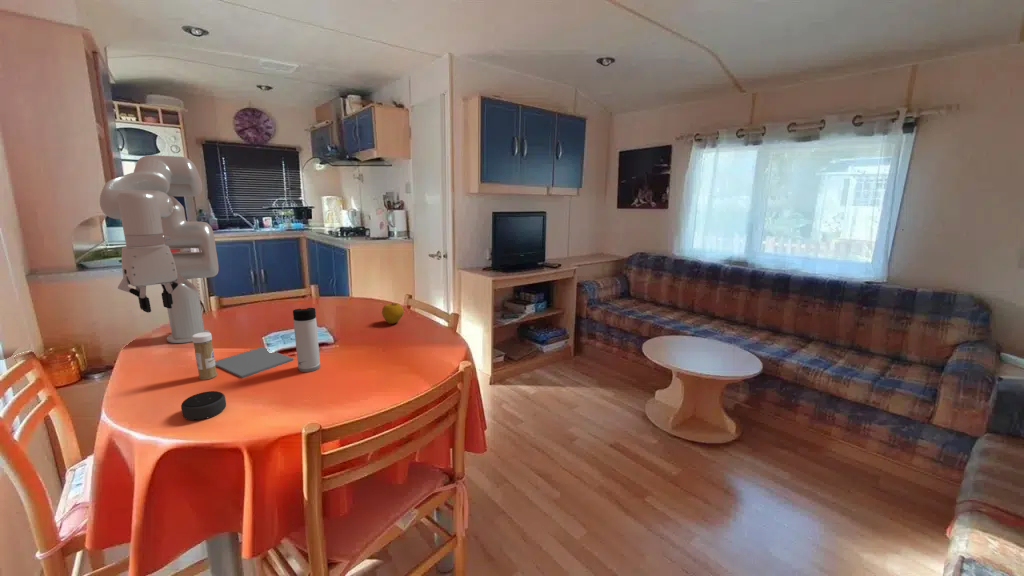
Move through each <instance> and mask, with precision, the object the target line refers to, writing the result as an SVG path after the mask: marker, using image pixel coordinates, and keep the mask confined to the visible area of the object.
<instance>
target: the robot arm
mask: <svg viewBox="0 0 1024 576" xmlns="http://www.w3.org/2000/svg"><path fill="white" fill-rule="evenodd" d="M100 192H101V193H100V195H99V206H100V209H101V211H102V213H103V214H104V215H105V216H107V217H109V218H111V219H114V220H121V224H122V230H123V235H124V241H125V246H124V247H123V246H122V248H121V270H122V279H121V281H120V282H119V284H118V286H117V289H118V290H120V291H124V292H127V293H130V294H132V295H133V296H135V297H137V299H138V304H139V308H140V310H143V312H146V313H148V314H149V313H151V312H152V308H151V301H150V298H149V297H148V295H147V294H146V293H147V286H154V285H160V286H161V288H162V292H161V293H160V294H161V299H162V305H163V307H164V308H166V309H167V315H168V321H169V327H170V334H169V335H168V336H167V337H166V341H167V342H168V343H171V344H185V343H191V342H192V343H193V341H192V336H193V335H194V334H197V333H202V332H209V333H211V332H210V330H209V329H205V327H204V322H203V321H204V320H203V316H202V315H203V314H202V313H203V312H202V307H201V301H200V293H199V289H198V288H197V287H196V285H195V284H193V283H192V282H191V281H190V280H191V279H205V278H206V279H207V278H213V277H216V276H217V275H218V274H219V267H220V266H219V259H218V254H217V245H216V240H215V234H214V231H213V228H212V226H211V225H210V224H209V223H208V222H205V221H188V220H187V219H186V213H185V208H184V205H182V204H181V203H180V201H178V199H177V198H175V197H189V198H192V197H198V196H200V195H201V194H202V192H203V181H202V179H201V175H200V174H199V170H198V168H197V167H196V165H195V163H194V162H193V161H192V160H191V159H189V158H187V157H184V156H174V155H173V156H172V155H159V154H156V155H155V154H152V155H144V156H142V157H140V158H138V160H137V161H136V164H135V167H134V169H133V172H131V173H127V174H124V175H122V176H121V175H120V176H117V177H114V178H112V179H110V180H108V181H107V182H106V183H105V184H104V185H103V187H102V189H101V191H100ZM185 249H187V250H189V249H198V250H200V251H194V252H192V251H191V252H188V251H187V252H186V251H185V252H184V251H183V252H172V251H171V250H185ZM130 285H131V286H132V287H130ZM134 287H135V288H134Z"/></svg>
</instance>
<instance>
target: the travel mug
mask: <svg viewBox="0 0 1024 576" xmlns="http://www.w3.org/2000/svg"><path fill="white" fill-rule="evenodd" d="M316 314H317V313H316V308H315V307H307V308H295V309H293V310H292V316H293V329H294V338H295V347H296V348H295V349H296V358H297V359H296V361H297V370H298V371H299V372H303V373H312V372H315V371H317V370H319V369H320V368H321V361H320V360H321V359H320V347H319V335H318V334H319V333H318V324H317V323H318V322H317V315H316Z"/></svg>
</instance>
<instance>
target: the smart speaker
mask: <svg viewBox="0 0 1024 576" xmlns="http://www.w3.org/2000/svg"><path fill="white" fill-rule="evenodd" d="M226 406H227V401H226V396H225V394H224V393H223V392H221V391H215V390H214V391H213V390H211V391H204V392H198V393H196V394H193V395H192V396H191V395H190V396H189V397H187V398H186V399H184V400H183V402H181V405H180V407H181V413H182V417H183V418H184V419H186V420H188V419H190V420H189V421H195V420H194V419H202V420H204V419H203V418H207V417H210V418H212V417H211V416H213V417H215V416H217V415H219V414H221V412H224V410H225V409H226ZM214 415H215V416H214ZM207 419H208V418H207Z"/></svg>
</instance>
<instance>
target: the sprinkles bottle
mask: <svg viewBox="0 0 1024 576" xmlns="http://www.w3.org/2000/svg"><path fill="white" fill-rule="evenodd" d="M209 332H210V331H209ZM209 332H202V333H197V334H194V335H193V336H192V343H193V347H194V355H195V361H196V363H195V364H196V367H197V371H198V378H199V380H202V381H203V380H210V379H211V380H212V379H213V378H216V377H217V376H218V373H217V368H216V367H217V366H215V361H216V358H215V353H214V352H215V351H214V347H213V343H212V341H213V336H212V333H211V332H210V333H209Z"/></svg>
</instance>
